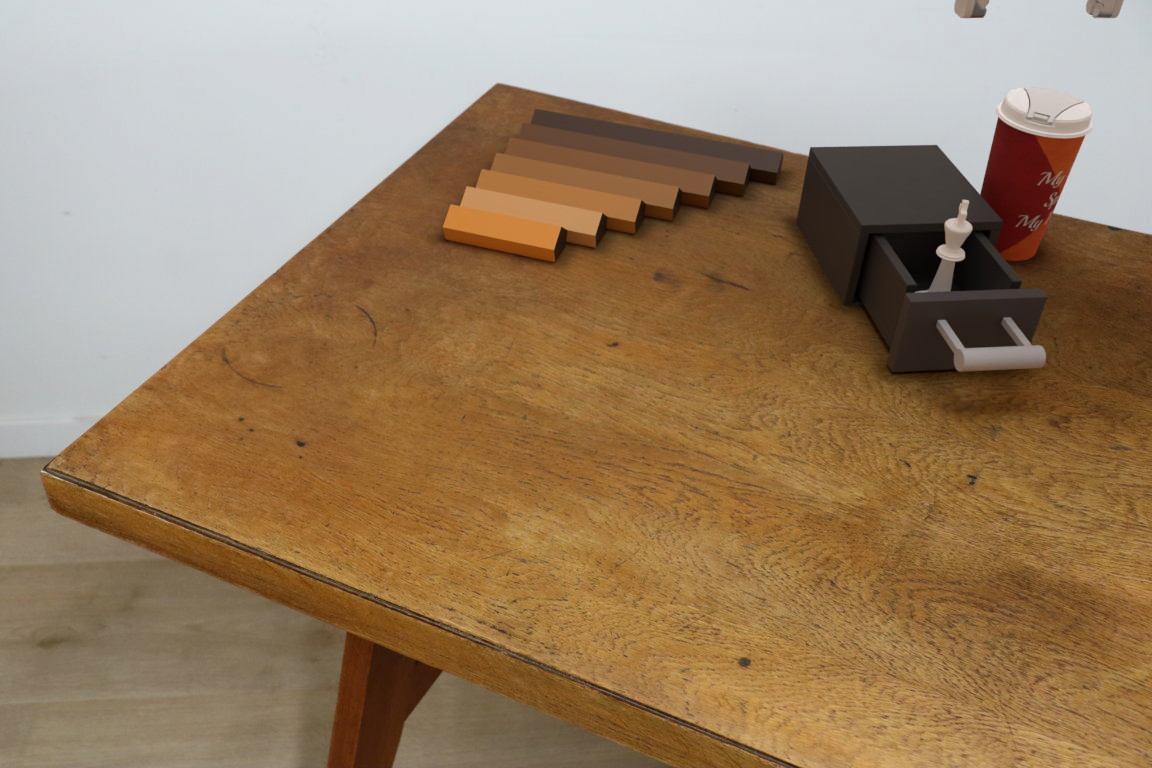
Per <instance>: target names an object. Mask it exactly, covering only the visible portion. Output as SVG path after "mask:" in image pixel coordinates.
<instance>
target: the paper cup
mask: <svg viewBox="0 0 1152 768" xmlns="http://www.w3.org/2000/svg"><path fill="white" fill-rule="evenodd" d="M995 113H996V116H997V119H996V120H997V121H996V124H995V129H994V133H993V137H992V143H991V146H990V150H989V154H988V159H987V162H986V163H987V164H986V168H985V172H984V175H983V181H982V185H981V189H980V193H979V194H980V195H981V196H982V197H983V199H984V200H985V201H986V202H987V203H988V204H989V205H990V207H991V208H992V209H993V210H994V211H995V212H996V214H997V215H998V216H999V217H1000V218H1001V219H1002V220H1003V224H1002V227H1001V230H1000V233H999V236H998V239H997V243H996V246H995V248H996V250H997V251H998V252H999V253H1000V254H1001V256H1002V257H1003V258H1004V259H1005V261H1008V262H1009V261H1011V262H1019V261H1027V260H1029V259H1031V258H1033V257H1034V256H1035V255H1036V253H1037V252H1038V248H1039V246H1040V244H1041V242H1042V241H1043V240H1042V239H1043V237H1044V235H1045V232H1046V231H1047V228H1048V226H1049V223H1050V221H1051V218H1052V216H1053V214H1054V212H1055V209H1056V207H1057V204H1058V202H1059V199H1060V198H1061V195H1062V193H1063V190H1064V187H1065V185H1066V183H1067V181H1068V178H1069V176H1070V173H1071V171H1072V169H1073V167H1074V163H1075V161H1076V159H1077V156H1078V154H1079V152H1080V149H1081V147H1082V144H1083V142H1084V140H1085V138H1086V135H1089V134H1090V133H1091V132H1092V131H1093V129H1094V124H1093V120H1092V115H1093V112H1092V107H1091V106H1090V105H1089V104H1088V102H1086V101H1084V100H1083V99H1081V98H1079V97H1077V96H1075V95H1073V94H1071V93H1068V92H1065V91H1060V90H1057V89H1052V88H1046V87H1037V86H1034V87H1033V86H1031V87H1030V86H1029V87H1027V86H1025V87H1017V88H1014V89H1011V90H1010V91H1009V92H1008V93H1007V94H1005V96H1004V99H1003V100H1002V101H1001V102H1000V103H999V104H997V106H996V108H995Z"/></svg>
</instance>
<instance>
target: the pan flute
mask: <svg viewBox="0 0 1152 768" xmlns="http://www.w3.org/2000/svg"><path fill="white" fill-rule="evenodd" d="M533 111H534V112H533V114H532V117H531V120H530V123H527V122H522V124H521V127H520V130H519V134H518V136H517V138H515V137H509V139H508V142H507V145H506V148H505V151H504V153H500V152H495V155H494V159H493V161H492V164H491V167H490V169H485V168H481V170H480V174H479V176H478V179H477V182H476V185H475V187H473V186H470V185H469V186H468V185H466V187H465V190H464V192H463V195H462V196H463V197H462V199H461V202H460V204H459V205H456V204H451V203H450V205H449V208H448V211H447V213H446V216H445V219H444V223H443V225H442V230H443V234H444V240H447V241H451V242H456V243H461V244H466V245H471V246H475V247H481V248H485V249H490V250H493V251H498V252H499V251H500V252H503V253H509V254H513V255H518V256H524V257H528V258H531V259H533V258H534V259H538V260H542V261H547V262H552V263H556V262H557V260H558V259H559V257H560V256H561V254H562V253H563V252H564V250H565V249H566V245H567V243H570V244H575V245H579V246H585V247H589V248H593V249H594V248H595V249H597V247H598V246H599V244H600V243H601V241H602V239H603V238H604V237H605V234H606V229H607V230H612V231H618V232H623V233H628V234H631V235H636V234H637V232H638V230H639V228H640V227H641V225H642V223H643V222H644V218H645V217H650V218H656V219H659V220H660V219H661V220H666V221H669V222H670V221H671V222H673V221H674V219H675V218H676V215H677V214H678V212H679V210H680V208H681V204H683V205H688V206H694V207H699V208H704V209H709V208H710V206H711V204H712V203H713V200H714V198H715V195H716V192H718V193H723V194H727V195H728V194H729V195H733V196H738V197H744V194H745V192H746V189H747V188H748V185H749V181H753V182H759V183H764V184H770V185H777V182H778V180H779V178H780V175H781V171H782V166H783V161H784V154H783V152H781V151H776V150H770V149H764V148H759V147H754V146H748V145H743V144H736V143H730V142H725V141H720V140H715V139H714V140H713V139H708V138H703V137H698V136H691V135H685V134H679V133H674V132H669V131H664V130H657V129H652V128H645V127H641V126H636V125H635V126H634V125H629V124H623V123H618V122H613V121H607V120H601V119H595V118H591V117H590V118H589V117H585V116H578V115H572V114H567V113H562V112H555V111H550V110H545V109H538V108H534V110H533Z"/></svg>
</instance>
